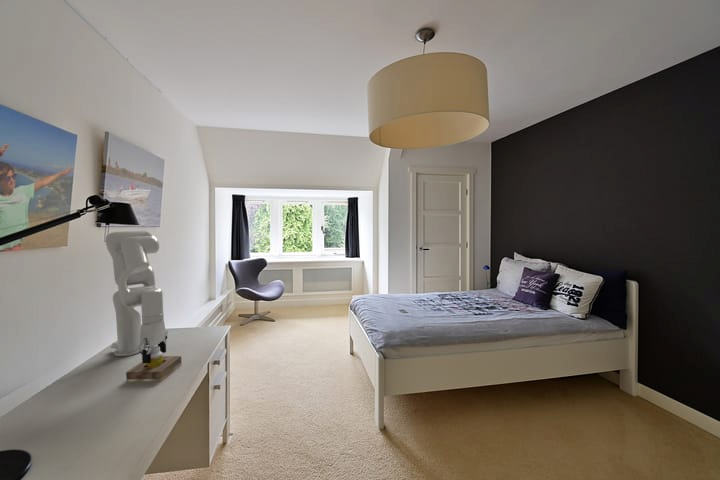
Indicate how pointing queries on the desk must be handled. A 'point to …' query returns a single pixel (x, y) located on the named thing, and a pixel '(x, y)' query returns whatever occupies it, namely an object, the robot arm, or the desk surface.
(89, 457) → the desk surface
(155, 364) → the supplement bottle
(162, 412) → the desk surface
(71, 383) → the desk surface
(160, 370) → the socket block
